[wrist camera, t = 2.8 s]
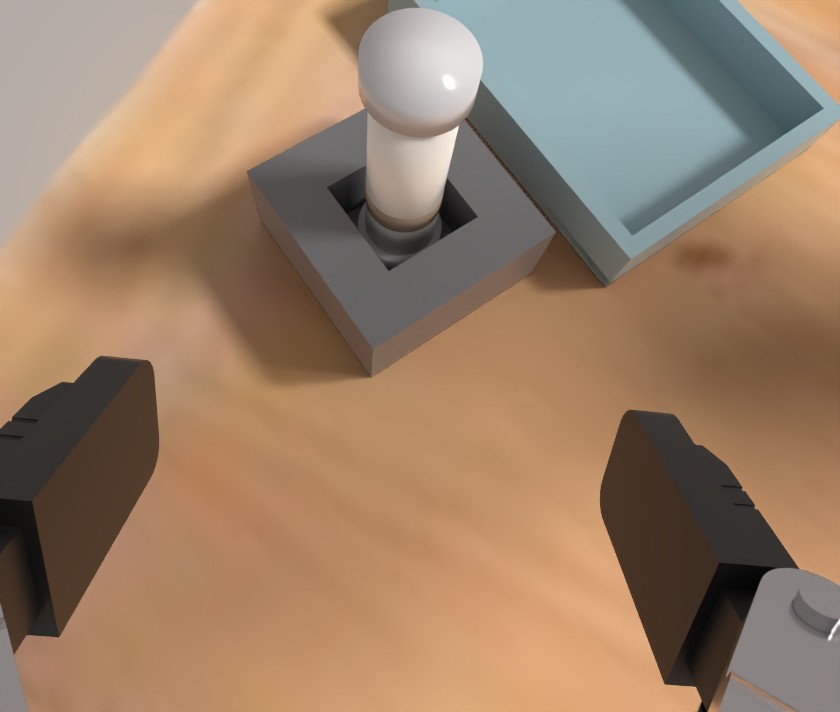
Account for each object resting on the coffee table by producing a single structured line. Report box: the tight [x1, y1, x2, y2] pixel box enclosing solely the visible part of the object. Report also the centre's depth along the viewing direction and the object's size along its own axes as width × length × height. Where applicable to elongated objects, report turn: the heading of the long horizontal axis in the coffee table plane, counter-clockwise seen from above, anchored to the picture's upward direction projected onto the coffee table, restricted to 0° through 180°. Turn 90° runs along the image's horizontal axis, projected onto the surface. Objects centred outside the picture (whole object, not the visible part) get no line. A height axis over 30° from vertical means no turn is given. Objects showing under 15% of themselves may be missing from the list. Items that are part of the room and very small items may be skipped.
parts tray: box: [387, 0, 840, 287], centre depth 32 cm, size 14×18×3 cm
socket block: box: [247, 109, 556, 377], centre depth 28 cm, size 9×9×4 cm
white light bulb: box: [358, 8, 483, 271], centre depth 24 cm, size 4×4×11 cm
